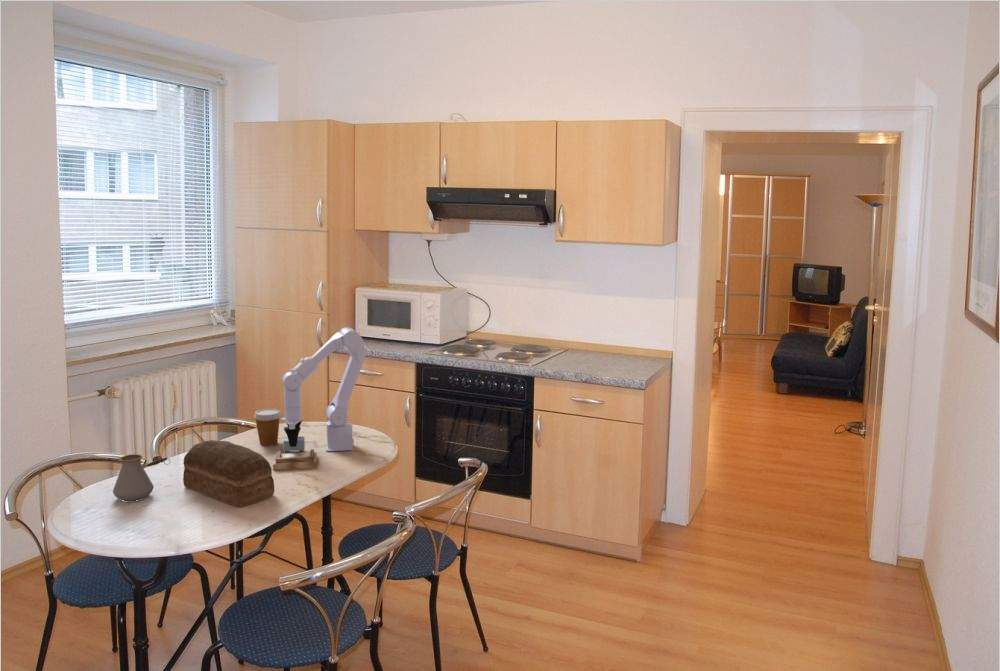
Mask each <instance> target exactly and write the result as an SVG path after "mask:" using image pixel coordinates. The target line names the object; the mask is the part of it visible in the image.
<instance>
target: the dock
mask: <svg viewBox="0 0 1000 671" xmlns="http://www.w3.org/2000/svg"><path fill="white" fill-rule="evenodd" d="M317 458H318V452H317V451H315V449H311V448H310V452H309V451H308V452H307V451H306V452H304V453H299V452H290V453H287V454H284V453H282V451H281V450H277V452H276V453H275V455H274V460H273V462H272V463H273V464H272V468H273V469H272V470H273V471H281V469H284V470H300V468H301V469H302V470H303V469H317V460H318V459H317ZM298 468H299V469H298Z"/></svg>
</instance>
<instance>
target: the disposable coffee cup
mask: <svg viewBox="0 0 1000 671" xmlns="http://www.w3.org/2000/svg"><path fill="white" fill-rule="evenodd" d="M281 415H282V414H281V412H280V409H275V408H264V409H259V410H256V411H255V412H254V415H253V418H254V420H255V423H256V424H255V425H256V430H257V434H258V435H257V436H258V441H259V445H260V446H264V447H267V446H274V445H277V444H278V439H279V428H280V420H281V419H280V418H281Z"/></svg>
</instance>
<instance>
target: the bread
mask: <svg viewBox="0 0 1000 671" xmlns="http://www.w3.org/2000/svg"><path fill="white" fill-rule="evenodd" d="M183 467H184V468H183V477H182V478H183V479H182V480H183V485H184V488H187V489H189V490H191V491H194V492H197V493H199V494H203V495H205V496H208V497H211V498H213V499H215V500H217V501H219V502H224V503H226V504H227V505H232V506H235V507H237V508H238V507H240V508H241V507H245V506H250V505H252V504H255V503H259V502H261V501H264V500H266V499H269V498H270V497H272V496H273V495H274V494H275V483H274V482H275V480H274V478H273V476H272V473H273V471H272V470H273V469H272V466H271V464H270V463H269V461H268V459H267V458H265V457H264V456H263V455H262V454H260V453H259V452H257V451H255V450H252V449H250V448H249V447H245V446H242V445H240V444H236V443H233V442H230V441H226V440H212V439H210V440H206V441H202V442H199V443H196V444H194V445H193V446H192V447H191V448H190V449H189V450H188V451H187V452H186V454H185V455H184V457H183Z"/></svg>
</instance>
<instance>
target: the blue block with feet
mask: <svg viewBox="0 0 1000 671" xmlns="http://www.w3.org/2000/svg"><path fill="white" fill-rule="evenodd" d="M305 444H306V442H305V436H298V439H297V445H296V447H290V444H289V440H288V436H287V437H283V451H284V452H283V454H287V453H291V452H292V451H298V453H305V446H306V445H305Z"/></svg>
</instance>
